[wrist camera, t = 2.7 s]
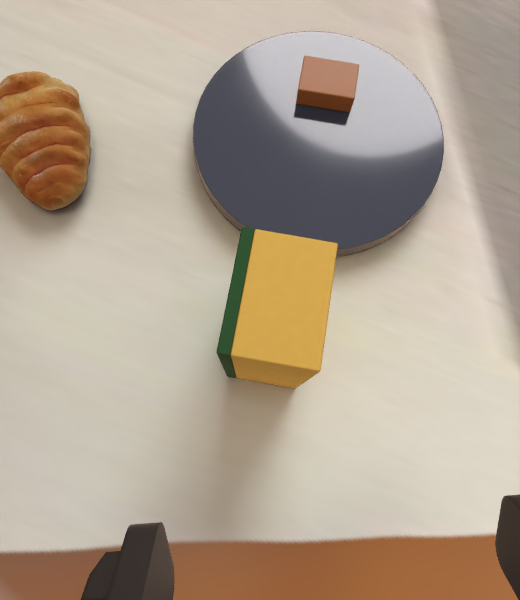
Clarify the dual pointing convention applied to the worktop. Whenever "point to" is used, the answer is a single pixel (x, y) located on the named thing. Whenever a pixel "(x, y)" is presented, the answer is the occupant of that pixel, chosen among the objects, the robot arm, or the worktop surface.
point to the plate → (317, 144)
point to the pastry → (43, 138)
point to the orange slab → (327, 84)
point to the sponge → (277, 308)
